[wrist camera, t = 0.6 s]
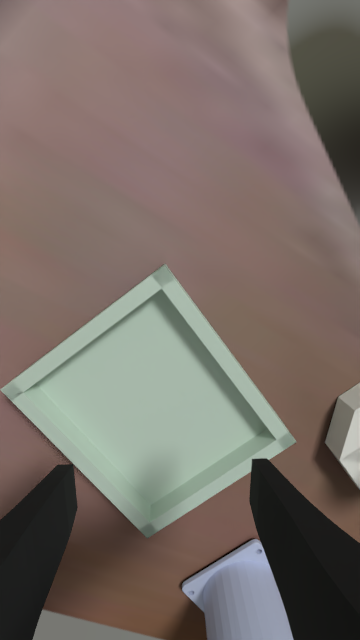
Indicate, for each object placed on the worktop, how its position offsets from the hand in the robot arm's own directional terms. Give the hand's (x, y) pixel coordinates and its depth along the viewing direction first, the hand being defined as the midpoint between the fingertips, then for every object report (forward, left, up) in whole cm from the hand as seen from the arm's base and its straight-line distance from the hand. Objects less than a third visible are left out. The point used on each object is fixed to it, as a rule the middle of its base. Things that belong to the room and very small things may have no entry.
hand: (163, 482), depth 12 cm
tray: (-1, +1, -10) cm, 10 cm away
